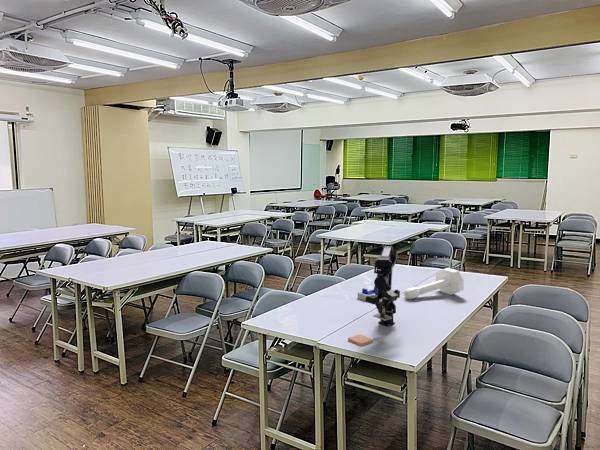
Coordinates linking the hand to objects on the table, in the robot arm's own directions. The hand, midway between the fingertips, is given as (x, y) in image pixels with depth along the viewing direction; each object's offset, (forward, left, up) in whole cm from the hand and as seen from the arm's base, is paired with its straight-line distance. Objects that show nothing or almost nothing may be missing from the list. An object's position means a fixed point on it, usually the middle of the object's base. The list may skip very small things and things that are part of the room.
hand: (382, 313), depth 229 cm
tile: (0, -11, -9) cm, 15 cm away
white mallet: (-26, +77, -11) cm, 83 cm away
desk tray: (-50, +44, -11) cm, 67 cm away
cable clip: (-51, +44, -11) cm, 68 cm away
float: (0, 0, -2) cm, 2 cm away
